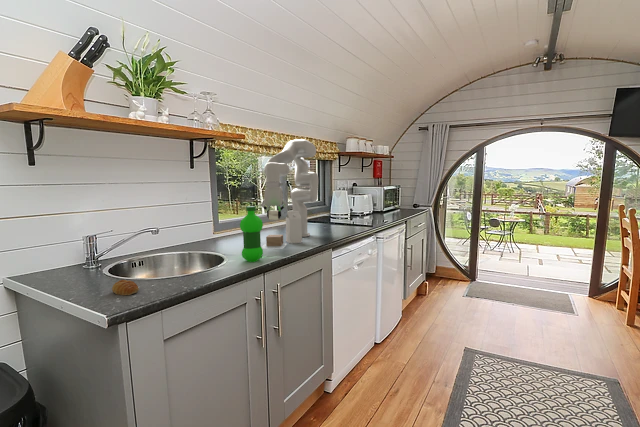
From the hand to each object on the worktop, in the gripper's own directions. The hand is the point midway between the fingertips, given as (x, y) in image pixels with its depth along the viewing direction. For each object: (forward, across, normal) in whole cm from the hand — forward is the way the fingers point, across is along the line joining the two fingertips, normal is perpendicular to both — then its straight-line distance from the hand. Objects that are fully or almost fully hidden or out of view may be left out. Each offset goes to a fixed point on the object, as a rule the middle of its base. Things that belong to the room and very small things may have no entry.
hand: (274, 217), depth 188 cm
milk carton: (+16, -10, -9) cm, 21 cm away
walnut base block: (+16, 0, 0) cm, 16 cm away
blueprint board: (+16, 0, +3) cm, 16 cm away
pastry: (+17, +36, +78) cm, 87 cm away
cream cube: (+1, 0, 0) cm, 1 cm away
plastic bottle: (+17, +4, +33) cm, 37 cm away
